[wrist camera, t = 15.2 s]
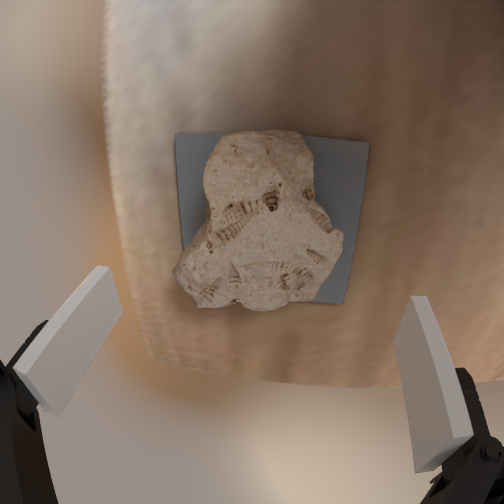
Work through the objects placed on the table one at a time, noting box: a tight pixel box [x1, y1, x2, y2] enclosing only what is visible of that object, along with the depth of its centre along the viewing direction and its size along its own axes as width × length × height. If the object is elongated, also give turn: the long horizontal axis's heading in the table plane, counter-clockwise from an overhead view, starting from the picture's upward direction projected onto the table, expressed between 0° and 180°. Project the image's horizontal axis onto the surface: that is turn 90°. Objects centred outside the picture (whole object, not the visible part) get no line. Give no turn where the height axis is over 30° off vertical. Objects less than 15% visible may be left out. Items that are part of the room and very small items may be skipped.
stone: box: [173, 129, 344, 312], centre depth 18 cm, size 9×11×5 cm
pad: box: [175, 132, 369, 304], centre depth 21 cm, size 12×12×1 cm
